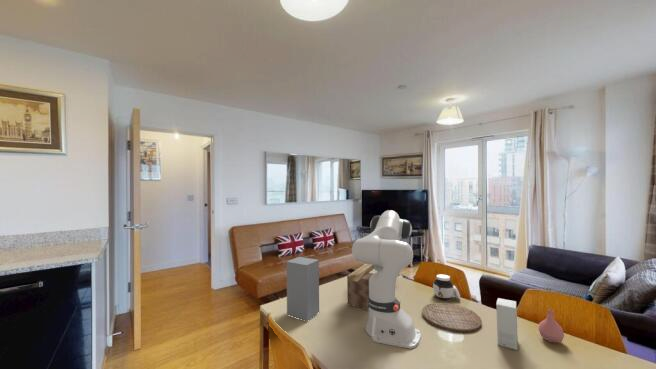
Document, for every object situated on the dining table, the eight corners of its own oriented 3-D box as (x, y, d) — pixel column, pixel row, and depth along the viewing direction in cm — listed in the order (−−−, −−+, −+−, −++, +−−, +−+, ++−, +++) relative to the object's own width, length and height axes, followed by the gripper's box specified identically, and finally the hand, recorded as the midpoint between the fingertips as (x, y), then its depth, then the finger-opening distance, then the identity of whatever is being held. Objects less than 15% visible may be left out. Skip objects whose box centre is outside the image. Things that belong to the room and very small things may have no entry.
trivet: (491, 336, 106) (491, 332, 106) (426, 330, 111) (426, 326, 111) (470, 308, 131) (470, 304, 131) (418, 304, 136) (418, 301, 136)
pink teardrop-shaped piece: (555, 348, 98) (554, 316, 98) (533, 337, 105) (533, 307, 105) (569, 344, 100) (568, 313, 100) (547, 333, 107) (547, 304, 107)
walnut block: (376, 302, 138) (375, 274, 138) (369, 309, 130) (368, 279, 130) (355, 297, 144) (355, 270, 145) (347, 304, 136) (347, 275, 136)
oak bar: (373, 269, 146) (373, 264, 146) (356, 281, 127) (356, 275, 127) (366, 268, 148) (366, 263, 148) (349, 280, 129) (349, 274, 129)
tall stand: (319, 313, 127) (318, 259, 127) (307, 322, 118) (306, 265, 119) (299, 307, 133) (299, 256, 133) (287, 315, 125) (286, 261, 125)
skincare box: (517, 351, 96) (516, 309, 96) (496, 344, 100) (495, 304, 100) (517, 340, 103) (517, 301, 103) (498, 334, 107) (497, 296, 107)
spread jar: (431, 295, 146) (430, 274, 147) (445, 291, 151) (445, 271, 151) (449, 303, 136) (448, 281, 136) (464, 299, 140) (463, 278, 140)
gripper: (365, 257, 170) (357, 251, 160) (396, 261, 160) (390, 255, 150) (363, 267, 167) (355, 261, 157) (395, 272, 157) (389, 266, 147)
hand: (372, 258), depth 153 cm, fingers open, 8 cm apart
